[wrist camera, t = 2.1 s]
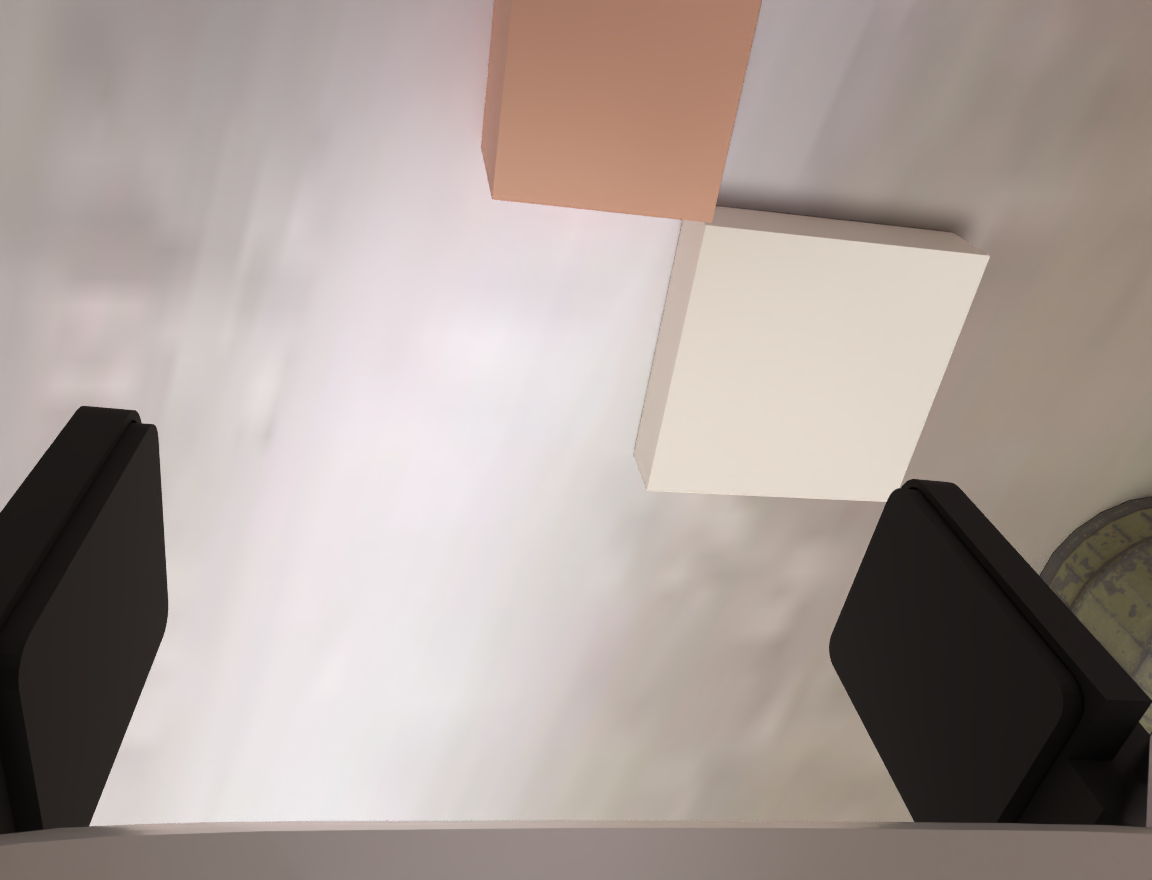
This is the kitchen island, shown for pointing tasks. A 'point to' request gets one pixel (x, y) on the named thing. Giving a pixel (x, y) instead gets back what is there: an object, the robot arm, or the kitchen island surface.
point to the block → (800, 354)
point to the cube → (615, 102)
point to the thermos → (1112, 586)
